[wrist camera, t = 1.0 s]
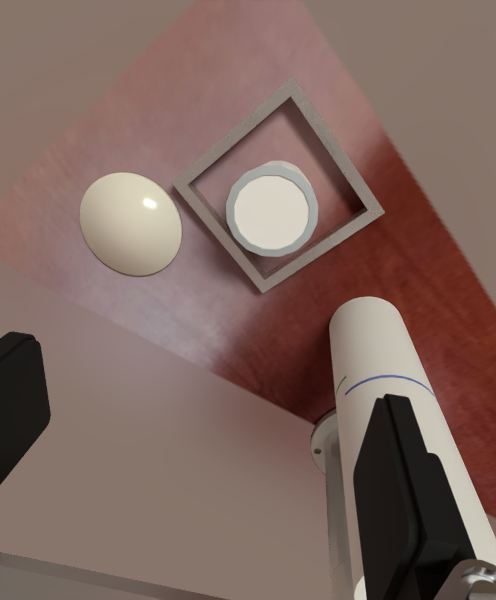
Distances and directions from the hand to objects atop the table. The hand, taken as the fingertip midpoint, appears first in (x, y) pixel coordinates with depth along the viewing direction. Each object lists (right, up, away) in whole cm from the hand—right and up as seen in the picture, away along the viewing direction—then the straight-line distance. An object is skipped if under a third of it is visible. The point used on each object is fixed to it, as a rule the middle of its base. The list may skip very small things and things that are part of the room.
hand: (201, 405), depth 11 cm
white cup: (+4, +12, +25) cm, 28 cm away
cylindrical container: (+13, 0, +30) cm, 33 cm away
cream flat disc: (-10, +10, +28) cm, 31 cm away
